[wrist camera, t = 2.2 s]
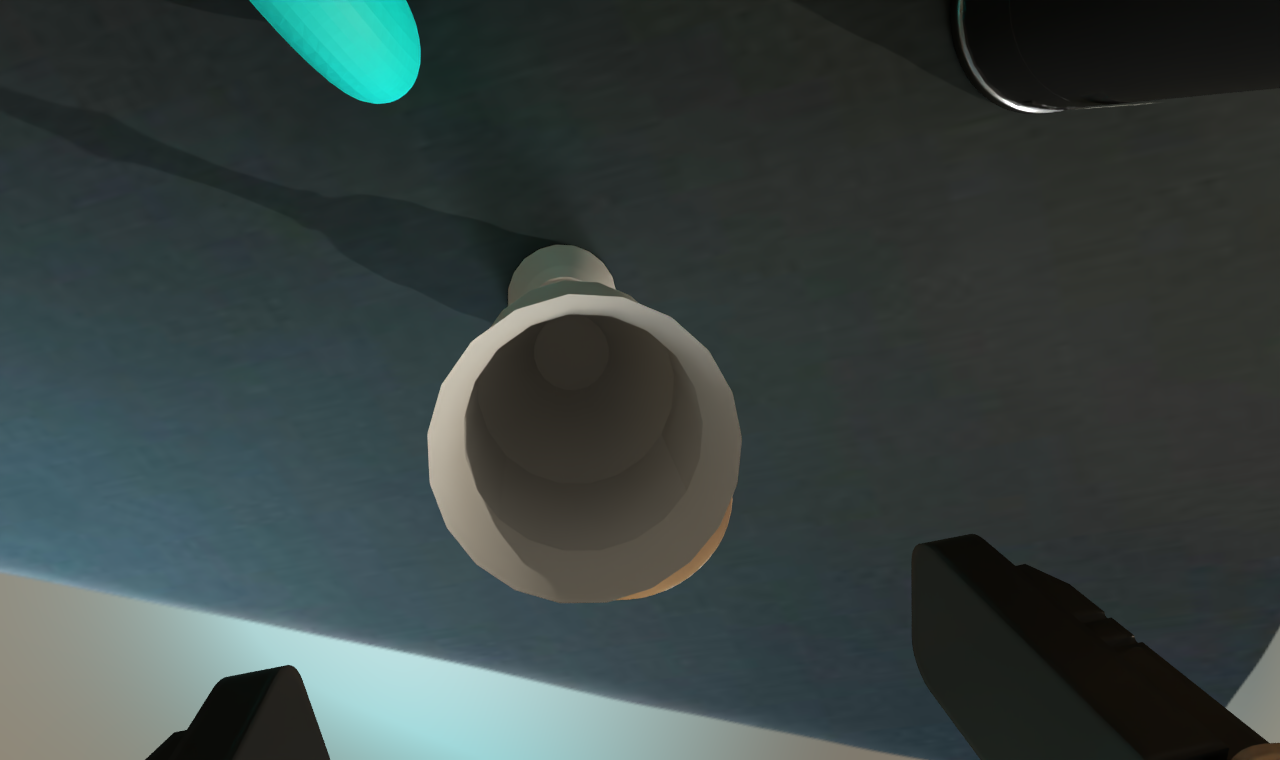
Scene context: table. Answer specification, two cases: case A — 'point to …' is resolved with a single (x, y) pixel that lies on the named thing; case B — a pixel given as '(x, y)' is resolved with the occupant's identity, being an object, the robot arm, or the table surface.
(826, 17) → the table surface
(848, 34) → the table surface
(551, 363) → the chalice
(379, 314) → the table surface
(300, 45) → the turquoise spool
